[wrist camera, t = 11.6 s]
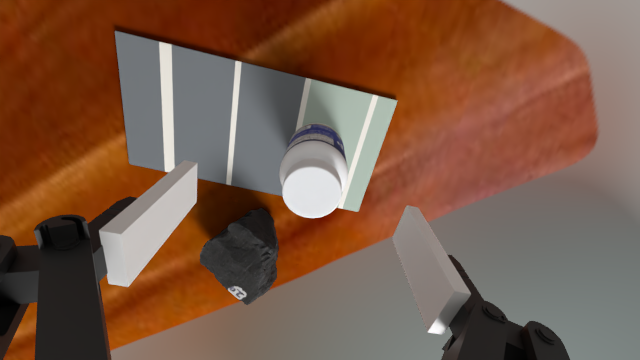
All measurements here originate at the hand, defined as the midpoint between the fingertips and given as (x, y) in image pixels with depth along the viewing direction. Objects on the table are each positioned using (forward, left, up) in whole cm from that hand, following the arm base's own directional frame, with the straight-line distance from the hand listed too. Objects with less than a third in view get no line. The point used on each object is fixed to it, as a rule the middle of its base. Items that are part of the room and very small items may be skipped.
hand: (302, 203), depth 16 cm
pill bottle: (0, 0, -10) cm, 10 cm away
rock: (-5, -13, -11) cm, 18 cm away
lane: (-6, 0, -10) cm, 12 cm away
